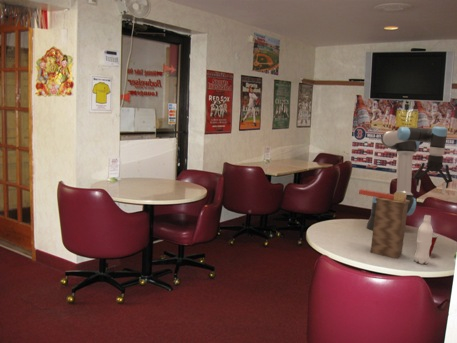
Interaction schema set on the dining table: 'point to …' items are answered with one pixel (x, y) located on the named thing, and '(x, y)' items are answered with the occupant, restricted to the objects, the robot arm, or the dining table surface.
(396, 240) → the stand
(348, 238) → the dining table surface
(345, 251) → the dining table surface
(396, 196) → the lever
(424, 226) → the water bottle
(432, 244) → the plastic cup
